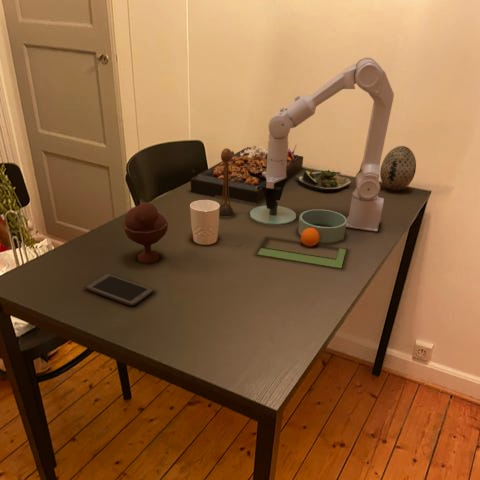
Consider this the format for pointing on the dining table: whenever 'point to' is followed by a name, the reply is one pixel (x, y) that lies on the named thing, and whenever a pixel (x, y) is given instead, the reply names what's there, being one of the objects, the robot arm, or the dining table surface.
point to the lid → (273, 215)
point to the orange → (310, 237)
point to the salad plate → (323, 181)
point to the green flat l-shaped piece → (305, 257)
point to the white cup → (205, 221)
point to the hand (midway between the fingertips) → (273, 204)
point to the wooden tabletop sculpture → (226, 183)
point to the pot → (324, 218)
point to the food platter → (242, 175)
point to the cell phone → (119, 289)
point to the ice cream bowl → (145, 229)
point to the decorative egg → (398, 168)
